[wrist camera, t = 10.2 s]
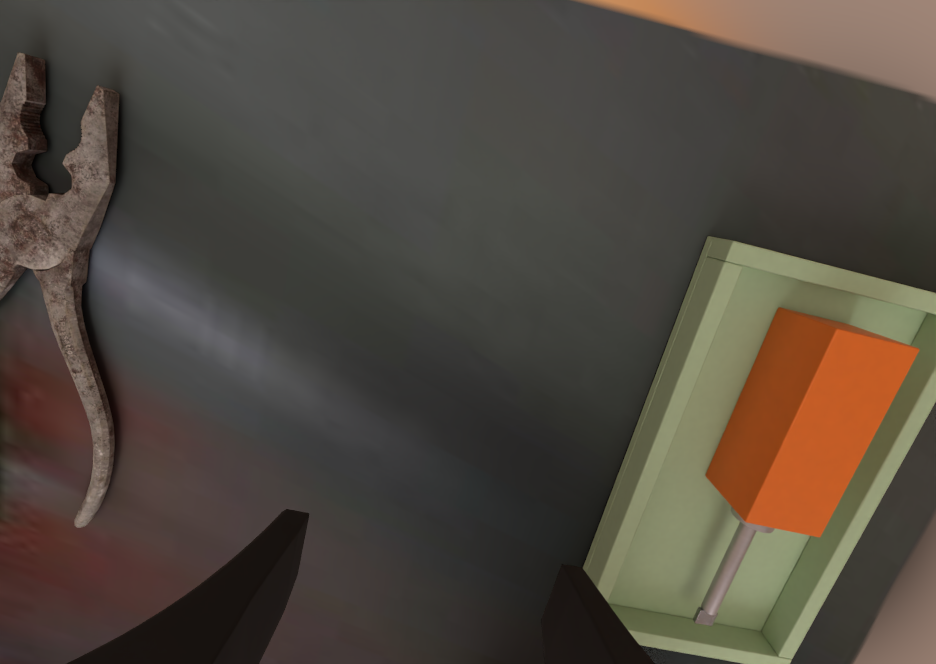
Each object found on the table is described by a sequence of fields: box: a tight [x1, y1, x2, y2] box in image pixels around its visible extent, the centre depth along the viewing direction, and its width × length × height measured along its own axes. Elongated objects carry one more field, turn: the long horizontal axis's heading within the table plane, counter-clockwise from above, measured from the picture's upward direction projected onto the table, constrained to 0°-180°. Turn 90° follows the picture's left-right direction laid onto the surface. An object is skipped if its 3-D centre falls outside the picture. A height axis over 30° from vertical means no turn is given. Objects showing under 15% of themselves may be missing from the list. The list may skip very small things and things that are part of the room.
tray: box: [583, 236, 936, 664], centre depth 22 cm, size 20×11×2 cm, turn 166°
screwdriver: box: [693, 307, 919, 626], centre depth 21 cm, size 15×3×3 cm, turn 166°
